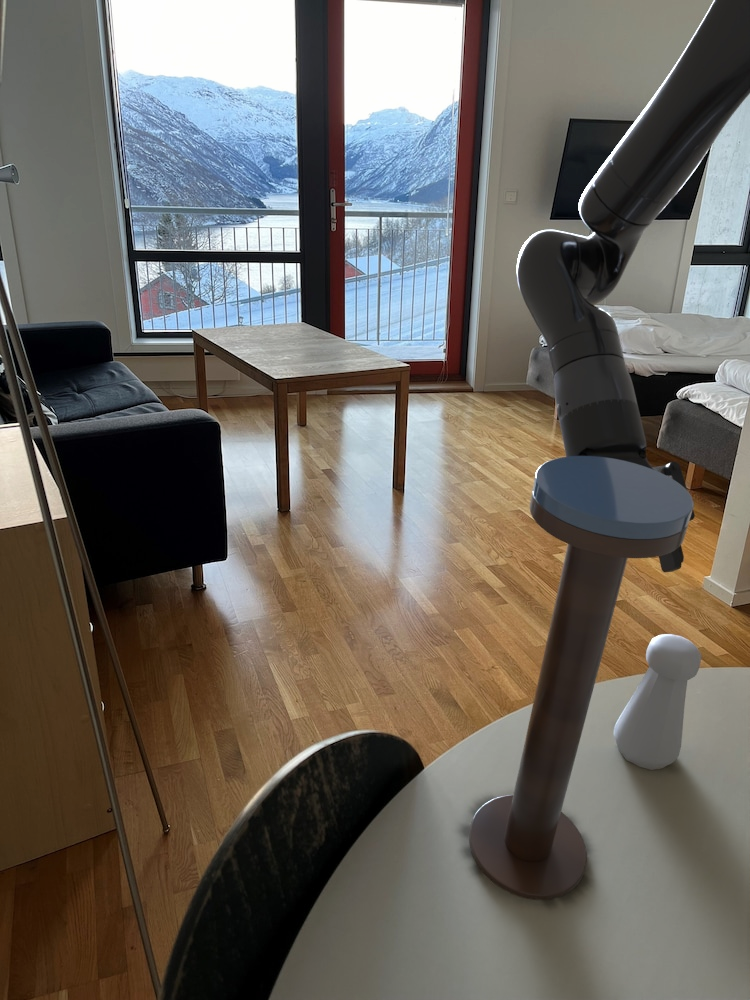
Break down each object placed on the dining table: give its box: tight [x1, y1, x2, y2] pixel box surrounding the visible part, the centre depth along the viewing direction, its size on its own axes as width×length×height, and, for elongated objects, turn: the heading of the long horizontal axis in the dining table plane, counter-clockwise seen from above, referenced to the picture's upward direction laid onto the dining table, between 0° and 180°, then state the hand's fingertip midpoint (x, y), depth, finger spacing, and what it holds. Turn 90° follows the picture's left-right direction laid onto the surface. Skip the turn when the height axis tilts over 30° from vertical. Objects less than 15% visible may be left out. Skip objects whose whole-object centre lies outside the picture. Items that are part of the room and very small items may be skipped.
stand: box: [468, 490, 690, 901], centre depth 51 cm, size 9×9×31 cm
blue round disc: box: [532, 456, 694, 539], centre depth 43 cm, size 9×9×1 cm
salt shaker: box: [613, 633, 702, 771], centre depth 65 cm, size 6×6×13 cm
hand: (631, 573), depth 68 cm, fingers open, 8 cm apart
